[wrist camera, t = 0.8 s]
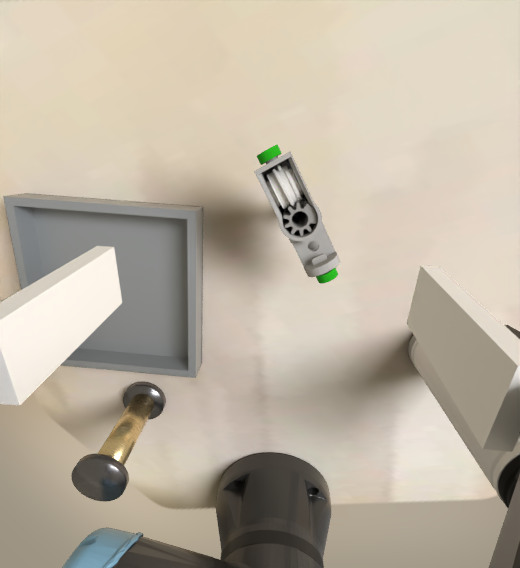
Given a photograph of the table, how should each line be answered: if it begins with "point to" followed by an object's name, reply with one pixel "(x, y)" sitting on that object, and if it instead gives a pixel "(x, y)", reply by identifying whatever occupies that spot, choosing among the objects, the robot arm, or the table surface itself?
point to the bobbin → (118, 445)
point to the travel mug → (492, 462)
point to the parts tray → (123, 275)
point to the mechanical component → (297, 213)
